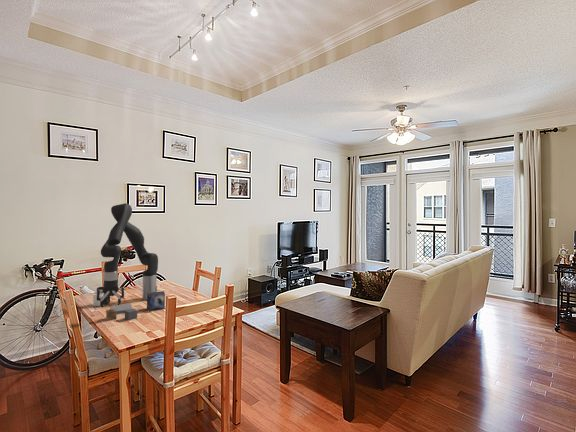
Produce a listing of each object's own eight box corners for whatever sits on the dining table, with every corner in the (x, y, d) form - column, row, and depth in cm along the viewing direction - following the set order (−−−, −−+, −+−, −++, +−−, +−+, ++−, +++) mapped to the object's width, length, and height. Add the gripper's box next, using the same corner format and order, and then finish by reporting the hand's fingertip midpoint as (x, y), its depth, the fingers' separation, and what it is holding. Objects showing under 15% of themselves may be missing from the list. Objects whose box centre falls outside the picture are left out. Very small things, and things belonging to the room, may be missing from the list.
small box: (147, 311, 203) (147, 295, 202) (146, 308, 209) (146, 292, 208) (164, 309, 208) (165, 293, 207) (163, 306, 213) (163, 290, 213)
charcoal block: (133, 316, 193) (133, 308, 193) (137, 318, 190) (137, 310, 190) (124, 318, 189) (124, 310, 189) (128, 320, 186) (128, 312, 186)
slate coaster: (130, 306, 211) (130, 303, 211) (132, 312, 201) (132, 308, 201) (109, 309, 204) (109, 306, 204) (110, 315, 194) (110, 311, 194)
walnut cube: (115, 316, 192) (115, 308, 192) (116, 319, 188) (116, 311, 187) (106, 318, 189) (106, 310, 189) (106, 320, 185) (106, 312, 185)
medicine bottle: (102, 306, 210) (102, 288, 210) (93, 305, 211) (93, 288, 211) (110, 303, 217) (110, 286, 217) (101, 302, 218) (101, 285, 218)
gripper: (123, 276, 195) (123, 302, 195) (96, 278, 187) (96, 306, 187) (124, 279, 188) (124, 306, 188) (96, 281, 181) (96, 309, 181)
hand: (110, 306), depth 188 cm, fingers open, 8 cm apart
